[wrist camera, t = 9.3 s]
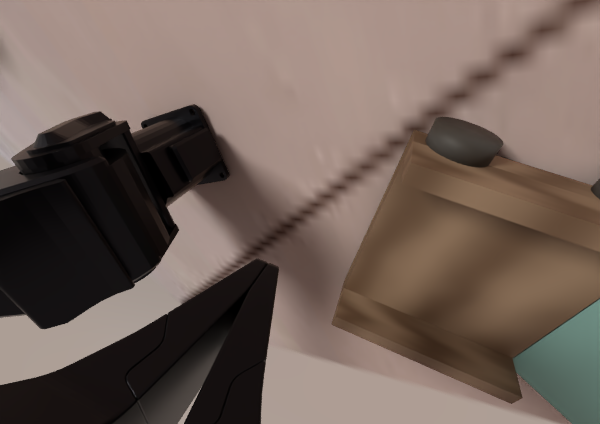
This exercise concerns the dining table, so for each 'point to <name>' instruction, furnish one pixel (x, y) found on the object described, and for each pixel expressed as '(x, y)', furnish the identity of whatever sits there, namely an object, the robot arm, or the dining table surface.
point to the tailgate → (567, 366)
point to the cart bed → (472, 258)
